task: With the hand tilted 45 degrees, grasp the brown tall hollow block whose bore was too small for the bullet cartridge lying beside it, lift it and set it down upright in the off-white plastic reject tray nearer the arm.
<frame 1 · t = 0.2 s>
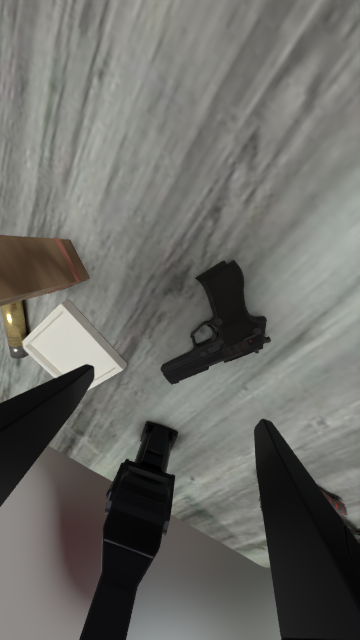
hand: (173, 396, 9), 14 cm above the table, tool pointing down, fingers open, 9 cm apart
tray: (76, 351, 28), on the table
bullet cartridge: (23, 324, 28), on the table, touching tray
handgun: (197, 327, 23), on the table
brown tall hollow block: (66, 266, 22), on the table
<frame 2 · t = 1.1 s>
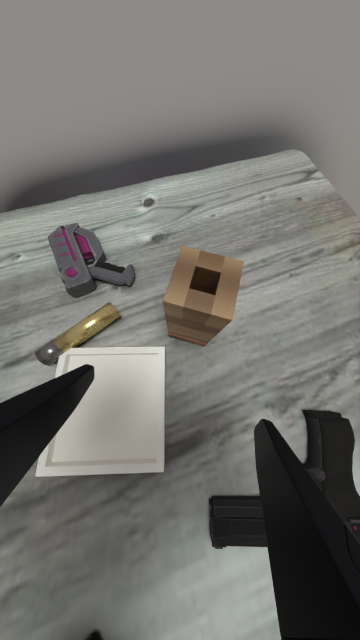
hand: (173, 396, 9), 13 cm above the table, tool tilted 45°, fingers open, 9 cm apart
tray: (112, 402, 20), on the table
bullet cartridge: (87, 333, 23), on the table, touching tray
toy gun: (96, 263, 27), on the table
handgun: (277, 465, 19), on the table
brown tall hollow block: (190, 324, 24), on the table
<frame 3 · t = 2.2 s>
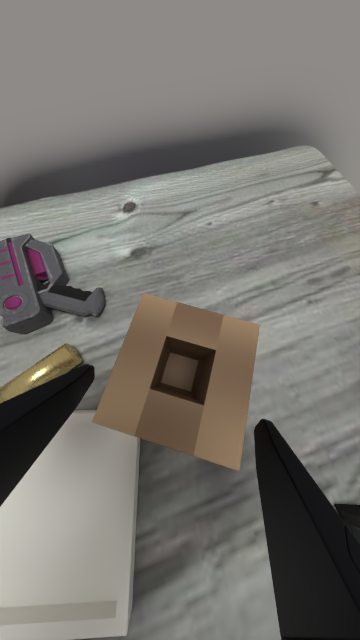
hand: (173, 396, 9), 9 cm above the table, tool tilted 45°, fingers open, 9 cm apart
tray: (60, 496, 14), on the table
bullet cartridge: (34, 386, 17), on the table, touching tray
toy gun: (57, 285, 21), on the table
handgun: (301, 596, 13), on the table
brown tall hollow block: (178, 372, 18), on the table
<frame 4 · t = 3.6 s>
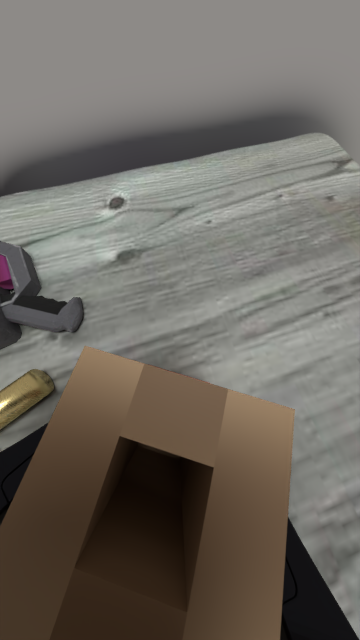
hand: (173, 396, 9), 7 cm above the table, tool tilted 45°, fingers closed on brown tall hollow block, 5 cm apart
toy gun: (28, 294, 18), on the table
brown tall hollow block: (169, 403, 14), on the table, touching gripper
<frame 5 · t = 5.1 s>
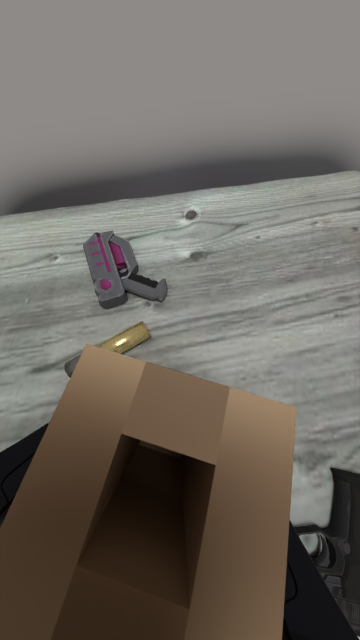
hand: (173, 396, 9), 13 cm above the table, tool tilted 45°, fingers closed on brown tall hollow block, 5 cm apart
bullet cartridge: (115, 349, 22), on the table, touching tray
toy gun: (128, 273, 26), on the table
handgun: (295, 522, 18), on the table
brown tall hollow block: (170, 402, 14), point 7 cm above the table, touching gripper
when the fingers open (8 cm above the table, at t = 6.8 s): brown tall hollow block drops 1 cm, resting on tray.
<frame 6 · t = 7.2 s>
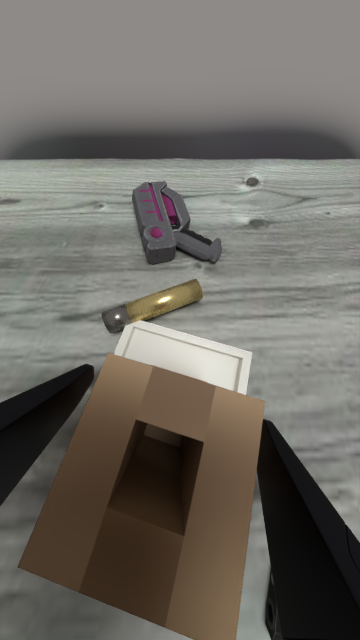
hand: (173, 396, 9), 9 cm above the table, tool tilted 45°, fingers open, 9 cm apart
tray: (170, 399, 16), on the table
bullet cartridge: (157, 308, 19), on the table, touching tray
toy gun: (175, 231, 24), on the table
brown tall hollow block: (170, 400, 16), point 1 cm above the table, touching tray
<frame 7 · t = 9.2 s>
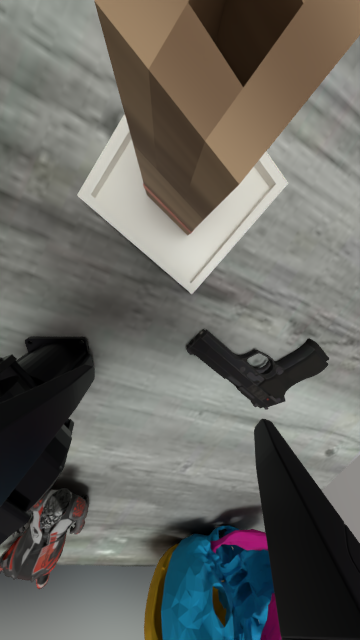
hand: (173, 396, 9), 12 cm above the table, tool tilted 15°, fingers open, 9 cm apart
tray: (184, 195, 16), on the table
handgun: (255, 349, 23), on the table
action figure: (50, 507, 31), on the table
anatomical model: (203, 530, 39), on the table
brown tall hollow block: (185, 192, 15), point 1 cm above the table, touching tray
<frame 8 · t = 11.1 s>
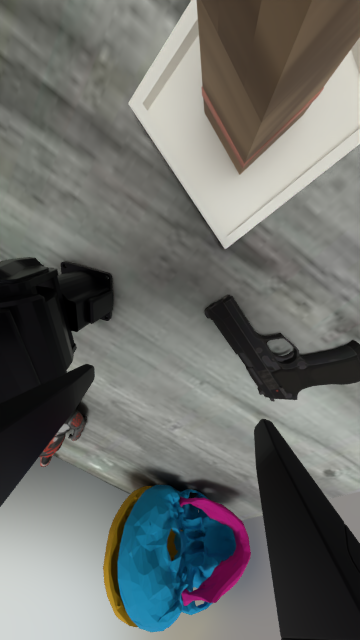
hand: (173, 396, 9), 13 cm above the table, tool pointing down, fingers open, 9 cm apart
tray: (250, 119, 13), on the table
handgun: (281, 335, 21), on the table
action figure: (59, 413, 38), on the table
anatomical model: (176, 486, 42), on the table
brown tall hollow block: (252, 113, 12), point 1 cm above the table, touching tray
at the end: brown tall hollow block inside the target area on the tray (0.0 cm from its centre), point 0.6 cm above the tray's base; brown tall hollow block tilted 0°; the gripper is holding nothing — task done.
